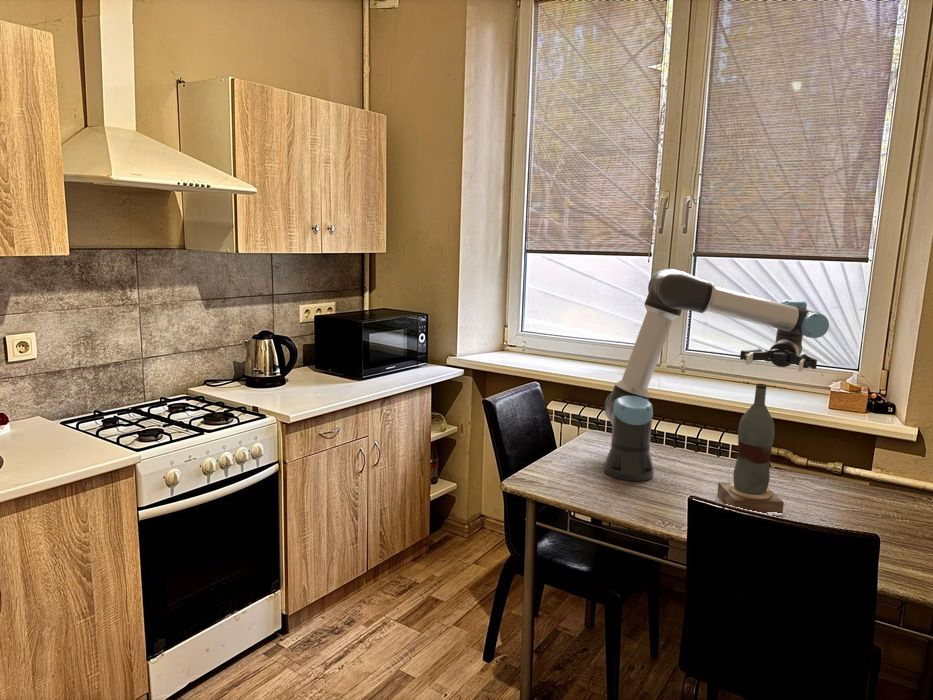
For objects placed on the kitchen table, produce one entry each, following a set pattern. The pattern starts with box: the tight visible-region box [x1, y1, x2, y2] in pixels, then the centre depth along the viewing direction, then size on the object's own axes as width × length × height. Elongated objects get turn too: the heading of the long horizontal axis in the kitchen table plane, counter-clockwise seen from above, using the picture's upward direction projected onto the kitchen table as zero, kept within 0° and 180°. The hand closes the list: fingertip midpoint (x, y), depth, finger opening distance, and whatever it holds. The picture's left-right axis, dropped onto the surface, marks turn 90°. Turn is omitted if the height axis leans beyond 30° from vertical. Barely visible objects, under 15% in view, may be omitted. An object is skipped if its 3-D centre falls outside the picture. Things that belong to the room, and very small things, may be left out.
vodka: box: [732, 383, 776, 495], centre depth 181 cm, size 9×9×30 cm
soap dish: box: [716, 481, 785, 514], centre depth 184 cm, size 13×13×5 cm
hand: (773, 363), depth 184 cm, fingers open, 13 cm apart
